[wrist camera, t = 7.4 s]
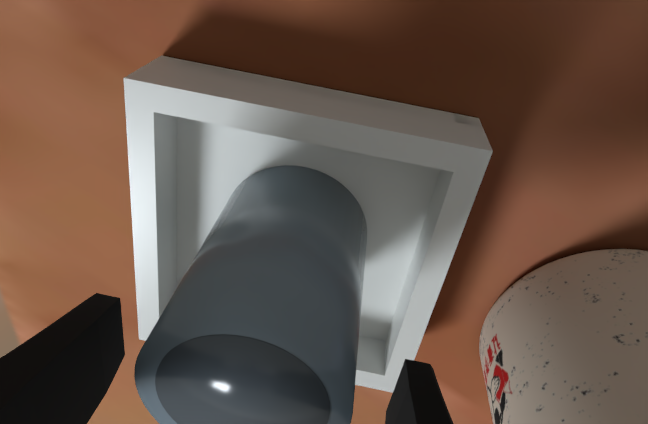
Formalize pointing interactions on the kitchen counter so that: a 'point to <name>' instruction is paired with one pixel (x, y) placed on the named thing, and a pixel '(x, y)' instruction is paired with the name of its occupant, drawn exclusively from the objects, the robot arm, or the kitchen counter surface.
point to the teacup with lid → (571, 342)
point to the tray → (312, 152)
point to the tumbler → (264, 310)
